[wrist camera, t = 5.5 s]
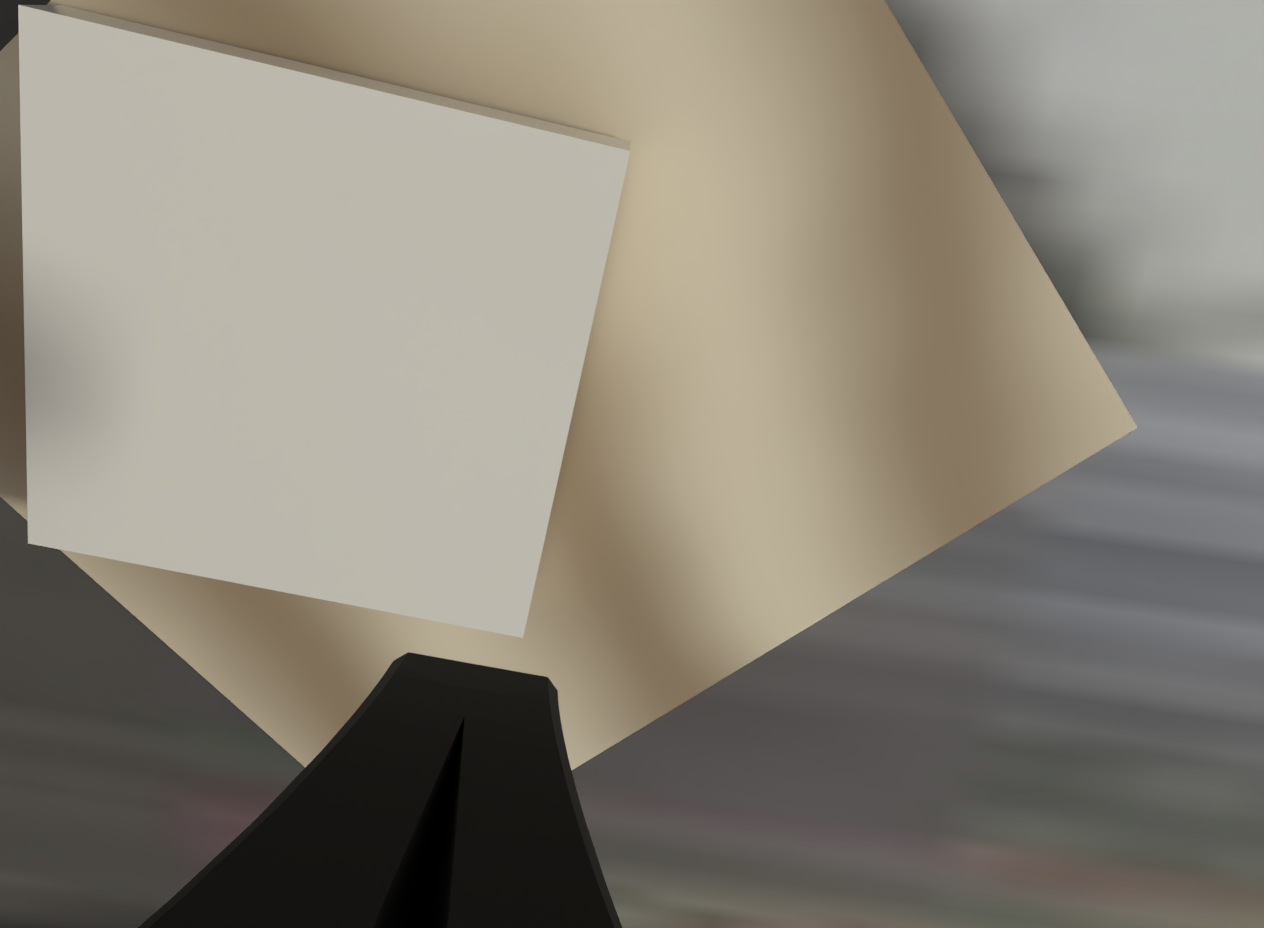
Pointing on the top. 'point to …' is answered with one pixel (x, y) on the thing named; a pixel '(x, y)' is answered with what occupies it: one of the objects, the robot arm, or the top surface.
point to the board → (676, 348)
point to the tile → (299, 319)
